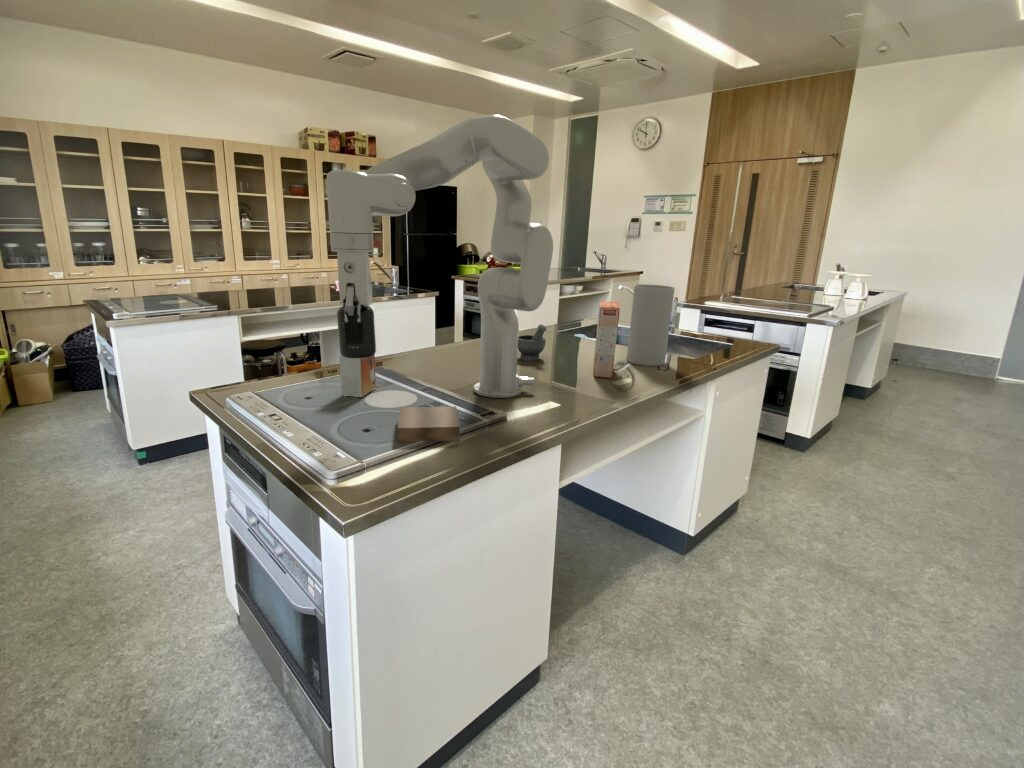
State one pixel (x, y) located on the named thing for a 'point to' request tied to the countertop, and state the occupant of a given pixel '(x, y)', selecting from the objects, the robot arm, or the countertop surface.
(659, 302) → the cylinder vase
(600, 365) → the cracker box
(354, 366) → the small box
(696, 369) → the countertop surface
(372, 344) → the supplement bottle
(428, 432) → the walnut base
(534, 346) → the mortar and pestle
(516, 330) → the robot arm
